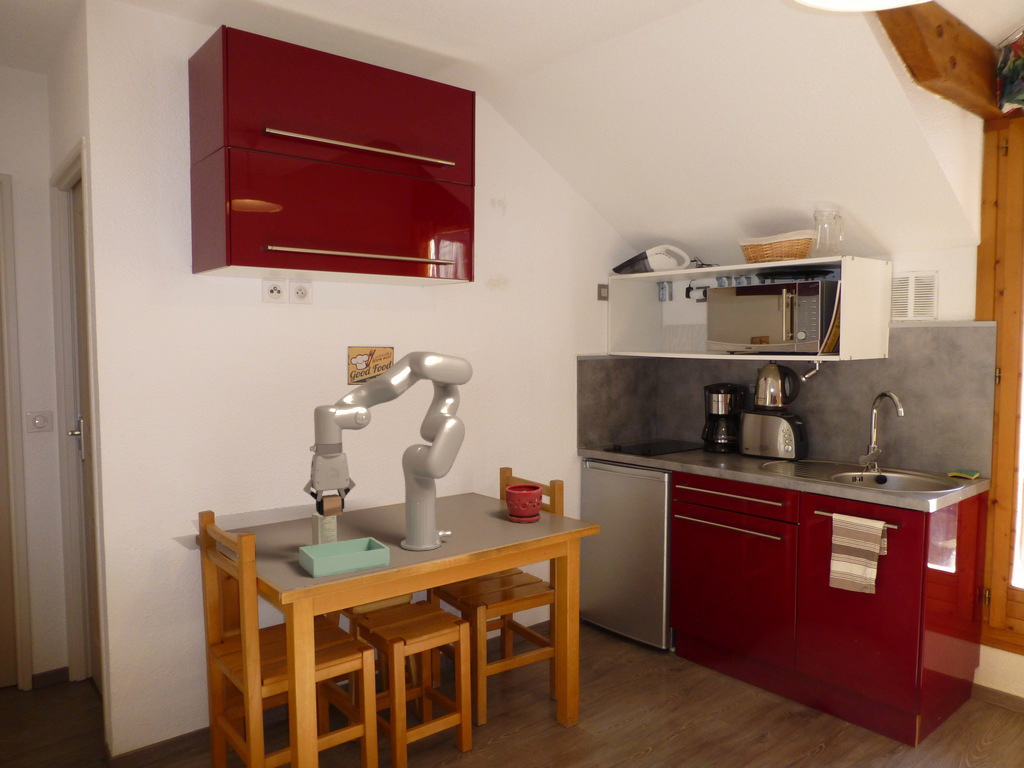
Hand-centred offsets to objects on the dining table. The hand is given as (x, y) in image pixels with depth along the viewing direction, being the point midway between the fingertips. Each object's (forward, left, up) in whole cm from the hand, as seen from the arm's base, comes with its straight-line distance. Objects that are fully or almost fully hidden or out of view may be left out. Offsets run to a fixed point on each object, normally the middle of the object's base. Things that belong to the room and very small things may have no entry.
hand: (330, 512), depth 211 cm
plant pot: (-75, -17, -15) cm, 79 cm away
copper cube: (0, 0, -1) cm, 1 cm away
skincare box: (-2, -13, -15) cm, 20 cm away
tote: (-3, +2, -15) cm, 16 cm away
